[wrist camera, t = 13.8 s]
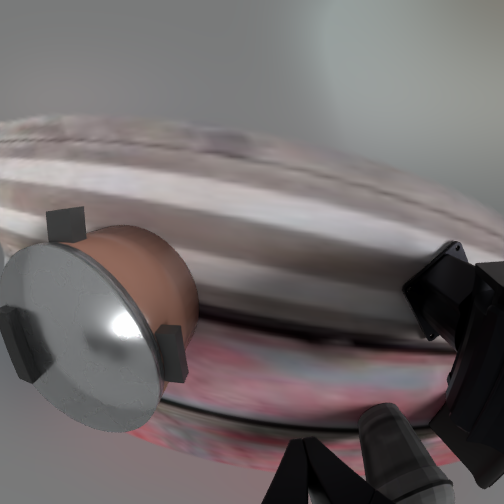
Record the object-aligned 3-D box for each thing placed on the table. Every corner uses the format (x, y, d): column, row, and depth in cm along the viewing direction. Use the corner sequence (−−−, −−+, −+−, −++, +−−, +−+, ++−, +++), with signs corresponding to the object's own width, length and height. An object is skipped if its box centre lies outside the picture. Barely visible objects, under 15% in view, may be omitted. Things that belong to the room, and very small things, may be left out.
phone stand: (427, 423, 23) (465, 496, 11) (458, 383, 22) (510, 454, 10) (467, 424, 23) (503, 481, 11) (494, 389, 22) (539, 443, 10)
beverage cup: (370, 386, 22) (440, 580, 2) (423, 396, 22) (500, 544, 2) (331, 436, 23) (357, 606, 4) (384, 442, 24) (427, 583, 4)
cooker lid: (143, 237, 12) (121, 246, 10) (182, 437, 14) (174, 460, 12) (-6, 245, 13) (-27, 252, 11) (42, 399, 15) (29, 412, 13)
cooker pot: (203, 194, 19) (160, 198, 11) (219, 382, 22) (200, 452, 15) (63, 208, 20) (-6, 221, 12) (95, 366, 23) (53, 414, 16)
